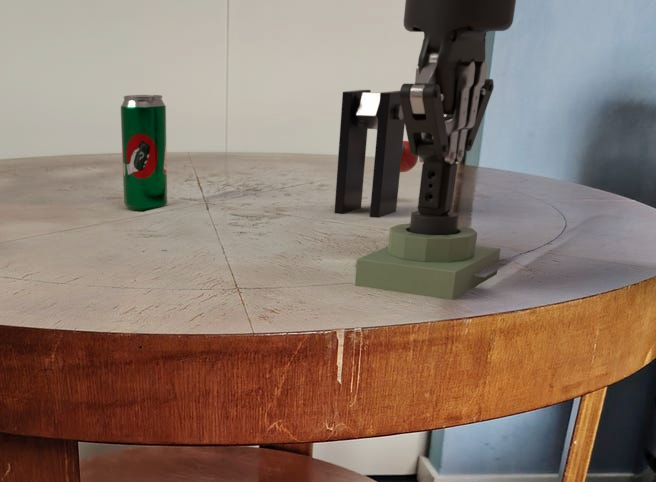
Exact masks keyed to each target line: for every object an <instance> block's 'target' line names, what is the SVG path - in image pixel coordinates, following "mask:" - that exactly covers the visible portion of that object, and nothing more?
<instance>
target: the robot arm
mask: <svg viewBox="0 0 656 482" xmlns="http://www.w3.org/2000/svg"><path fill="white" fill-rule="evenodd" d="M516 3H517V0H405V3H404V14H403V27H404V29H405V30H406V31H408V32H409V33H410V32H412V33H423V40H422V45H421V48H420V51H419V56H418V59H417V60H418V61H417V64H416V69H415V80H414V83H402V85H401V87H400V90H399V91H400V102H401V107H402V112H403V117H404V122H405V126H404V128H405V131H406V136H407V141H408V142H409V147H410V152H411V155H414V156H418V161H419V162H420V163H422V167H421V176H420V184H419V193H418V203H417V211H419V213H420V214H425V215H435V216H441V215H444V214H446V213H449V212H450V211H451V212H452V209H453V203H454V196H455V195H454V194H455V187H456V180H457V179H456V178H457V172H458V165H459V164H458V163H461V162H462V161H463V158H464V155H465V152H471V150H472V148H473V146H474V143H475V140H476V137H477V134H478V132H479V129H480V126H481V123H482V120H483V118H484V116H485V112H486V110H487V107H488V104H489V102H490V99H491V97H492V94H493V91H494V87H495V85H494V79H493V78H486V77H487V73H488V72H487V71H488V61H486V43H487V42H486V36H487V33H488V32H505V31H507V30H509V29H510V28H511V26H512V25H513V23H514V17H515V10H516Z"/></svg>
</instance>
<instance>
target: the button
mask: <svg viewBox="0 0 656 482" xmlns="http://www.w3.org/2000/svg"><path fill="white" fill-rule="evenodd" d="M459 217H460V214H459V213H458V212H454V211H452V210H451V211H450V212H449V213H446V214H444V215H441V216H435V215H425V214H420V213H419V211H418V210H415V211H412V212H411V213H410V221H409V223H410V230H409V232H411V233H415V234H423V235H452V234H457V226H458V225H459Z"/></svg>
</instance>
